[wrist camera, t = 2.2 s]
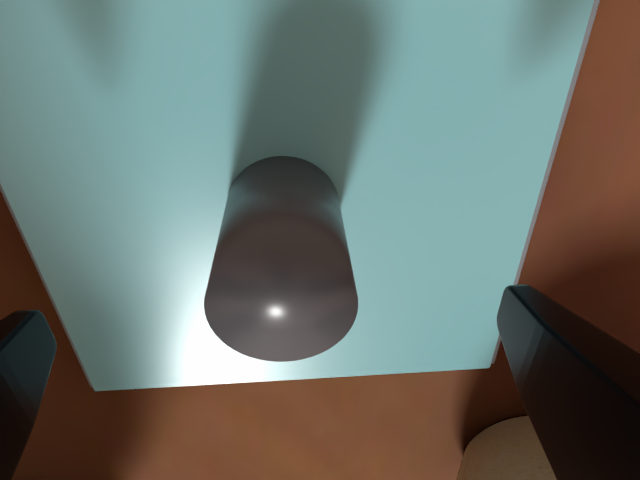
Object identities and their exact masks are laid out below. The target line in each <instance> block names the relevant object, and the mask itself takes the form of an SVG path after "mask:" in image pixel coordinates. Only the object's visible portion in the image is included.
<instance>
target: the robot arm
mask: <svg viewBox="0 0 640 480" xmlns="http://www.w3.org/2000/svg"><path fill="white" fill-rule="evenodd" d="M497 327H498V331H499V334H500V337H501V340H502V343H503V346H504V350H505V353H506V356H507V359H508V362H509V365H510V368H511V371H512V375H513V378H514V381H515V384H516V387H517V390H518V393H519V395H520V398H521V400H522V403H523V405H524V408H525V410H526V412H527V414H528V416H529V419H530V421H531V423H532V425H533V428H534V430H535V432H536V434H537V437H538V439H539V441H540V443H541V446H542V448H543V450H544V452H545V454H546V457H547V459H548V461H549V463H550V466H551V468H552V470H553V472H554V475H555V477H556V479H557V480H640V353H638V352H637V351H635V350H634V349H632V348H630V347H629V346H627V345H625V344H624V343H622V342H621V341H619V340H617V339H616V338H614V337H612V336H611V335H609V334H608V333H606V332H604V331H603V330H601V329H599V328H598V327H596V326H595V325H593V324H591V323H590V322H588V321H586V320H585V319H583V318H582V317H580V316H578V315H577V314H575V313H573V312H572V311H570V310H568V309H567V308H565V307H564V306H562V305H560V304H559V303H557V302H555V301H554V300H552V299H551V298H549V297H547V296H546V295H544V294H542V293H541V292H539V291H538V290H536V289H534V288H533V287H531V286H529V285H509V286H507V287H506V288H505V289H504V291H503V295H502V298H501V302H500V306H499V309H498V313H497ZM56 348H57V347H56V340H55V337H54V335H53V333H52V331H51V329H50V327H49V325H48V323H47V321H46V318H45V316H44V315H43V313H42V312H41V311H39V310H19V311H15V312H13V313H11V314H10V315H8V316H7V317H5V318H3V319H2V320H0V480H12V477H13V475H14V472H15V470H16V468H17V465H18V463H19V460H20V458H21V456H22V453H23V451H24V449H25V446H26V444H27V441H28V439H29V436H30V434H31V431H32V429H33V426H34V423H35V420H36V417H37V414H38V411H39V408H40V404H41V401H42V398H43V394H44V391H45V387H46V384H47V381H48V377H49V374H50V371H51V367H52V364H53V360H54V357H55V354H56Z"/></svg>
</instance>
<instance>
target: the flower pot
mask: <svg viewBox="0 0 640 480" xmlns="http://www.w3.org/2000/svg"><path fill="white" fill-rule="evenodd" d="M457 480H557V479H556V477H555V475H554V472H553V470H552V468H551V466H550V463H549V461H548V459H547V457H546V454H545V452H544V450H543V448H542V446H541V443H540V441H539V439H538V437H537V434H536V432H535V430H534V428H533V425H532V423H531V421H530V419H529V416H522V417H516V418H511V419H508V420H504V421H501V422H499V423H496V424H494V425H492V426H490V427H488V428H486V429H485V430H483V431H482V432H480V433H479V434H478V435H477V436H475V437H474V438H473V439H472V440H471V441H470V443H469V444H468V446H467V447H466V449H465V452H464V455H463V458H462V461H461V465H460V469H459V472H458V476H457Z"/></svg>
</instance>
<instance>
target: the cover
mask: <svg viewBox="0 0 640 480" xmlns="http://www.w3.org/2000/svg"><path fill="white" fill-rule="evenodd" d="M593 3H594V0H0V184H1V186H2V188H3V190H4V193H5V195H6V197H7V199H8V201H9V204H10V206H11V208H12V210H13V212H14V215H15V217H16V219H17V221H18V223H19V226H20V228H21V230H22V232H23V234H24V237H25V239H26V241H27V243H28V245H29V248H30V250H31V252H32V254H33V256H34V259H35V261H36V263H37V265H38V267H39V270H40V272H41V274H42V276H43V278H44V281H45V283H46V285H47V287H48V289H49V292H50V294H51V296H52V298H53V300H54V303H55V305H56V307H57V309H58V311H59V314H60V316H61V318H62V320H63V322H64V325H65V327H66V329H67V331H68V333H69V336H70V338H71V340H72V342H73V344H74V347H75V349H76V351H77V353H78V355H79V358H80V360H81V362H82V364H83V366H84V369H85V371H86V373H87V375H88V377H89V380H90V382H91V384H92V386H93V388H94V391H110V390H127V389H144V388H161V387H177V386H194V385H211V384H228V383H245V382H262V381H279V380H296V379H313V378H330V377H347V376H364V375H380V374H397V373H414V372H431V371H448V370H465V369H482V368H490V365H491V361H492V358H493V354H494V351H495V347H496V344H497V340H498V337H499V331H498V327H497V313H498V309H499V306H500V302H501V298H502V295H503V291H504V289H505V288H506V287H507V286H509V285H513V284H514V281H515V277H516V274H517V270H518V267H519V263H520V260H521V256H522V252H523V249H524V245H525V242H526V238H527V235H528V231H529V228H530V224H531V221H532V217H533V214H534V210H535V207H536V203H537V200H538V196H539V193H540V189H541V186H542V182H543V179H544V175H545V172H546V168H547V165H548V161H549V158H550V154H551V151H552V147H553V144H554V140H555V137H556V133H557V130H558V126H559V123H560V119H561V116H562V112H563V109H564V105H565V102H566V98H567V94H568V91H569V87H570V84H571V80H572V77H573V73H574V70H575V66H576V63H577V59H578V56H579V52H580V49H581V45H582V42H583V38H584V35H585V31H586V28H587V24H588V21H589V17H590V14H591V10H592V7H593Z"/></svg>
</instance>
